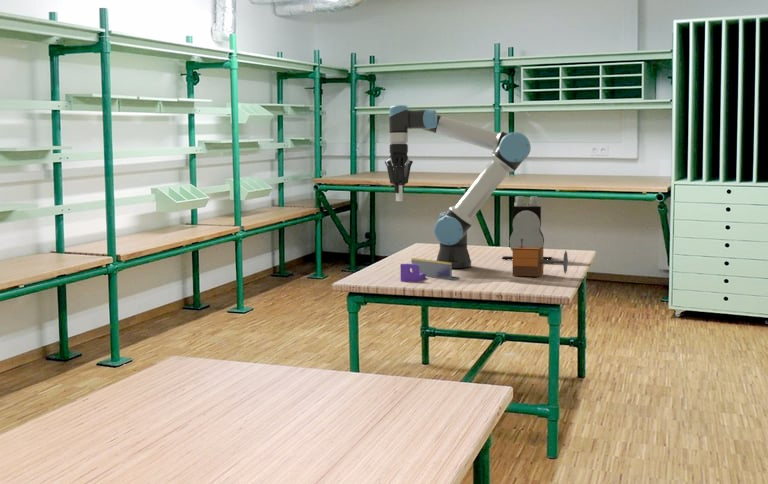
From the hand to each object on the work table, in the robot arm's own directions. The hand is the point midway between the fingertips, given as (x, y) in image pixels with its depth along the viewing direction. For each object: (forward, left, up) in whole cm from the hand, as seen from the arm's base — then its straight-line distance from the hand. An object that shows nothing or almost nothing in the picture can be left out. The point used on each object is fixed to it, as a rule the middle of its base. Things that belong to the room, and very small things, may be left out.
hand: (399, 201), depth 354 cm
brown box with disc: (-37, +44, -30) cm, 65 cm away
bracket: (+11, +24, -30) cm, 40 cm away
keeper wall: (+1, +22, -29) cm, 37 cm away
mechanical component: (-68, +6, -30) cm, 74 cm away
